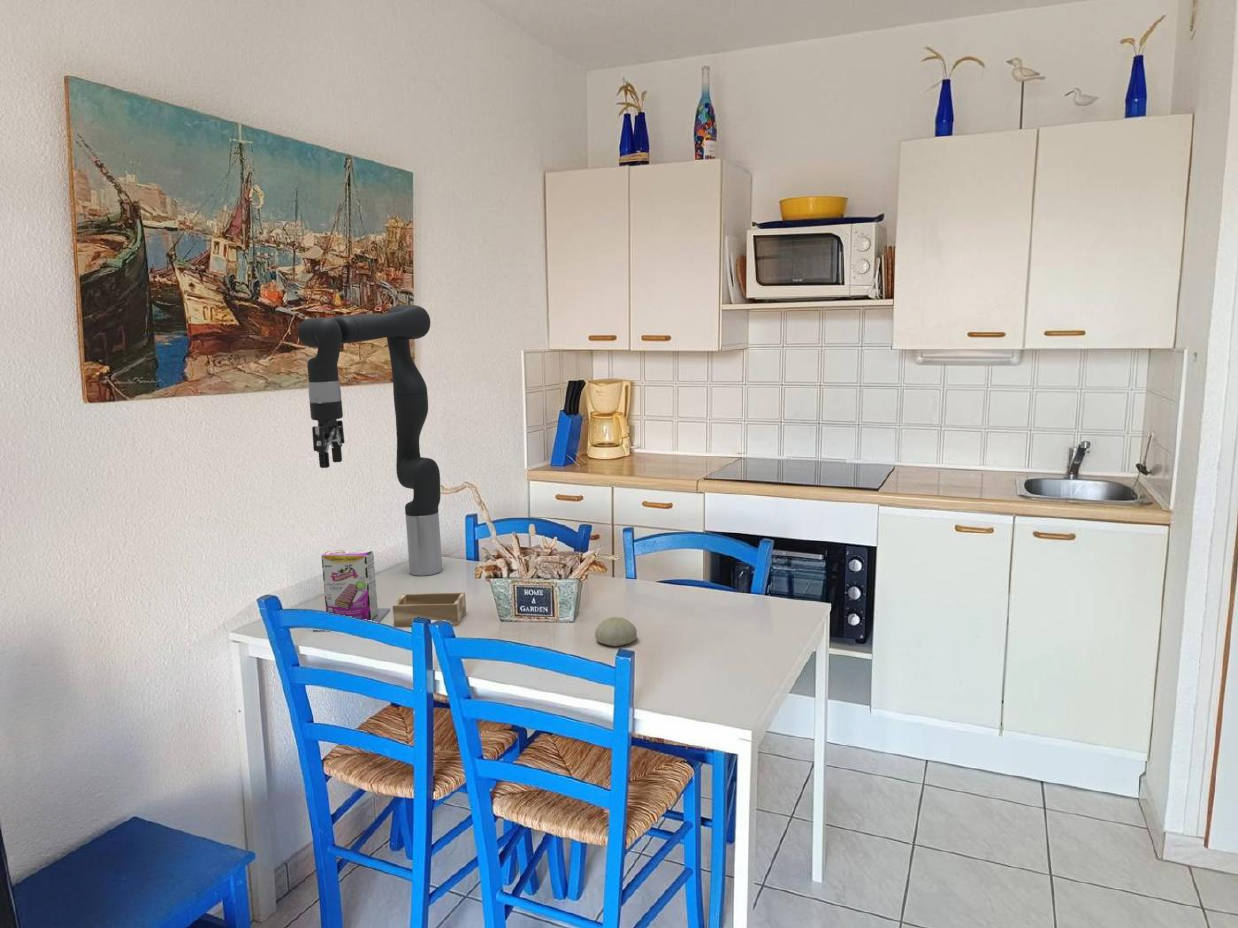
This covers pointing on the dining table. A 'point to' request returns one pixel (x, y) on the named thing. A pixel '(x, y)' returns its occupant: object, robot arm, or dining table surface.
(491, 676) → the dining table surface
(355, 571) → the candy bar box
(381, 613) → the coaster
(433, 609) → the caddy
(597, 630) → the sea urchin shell
